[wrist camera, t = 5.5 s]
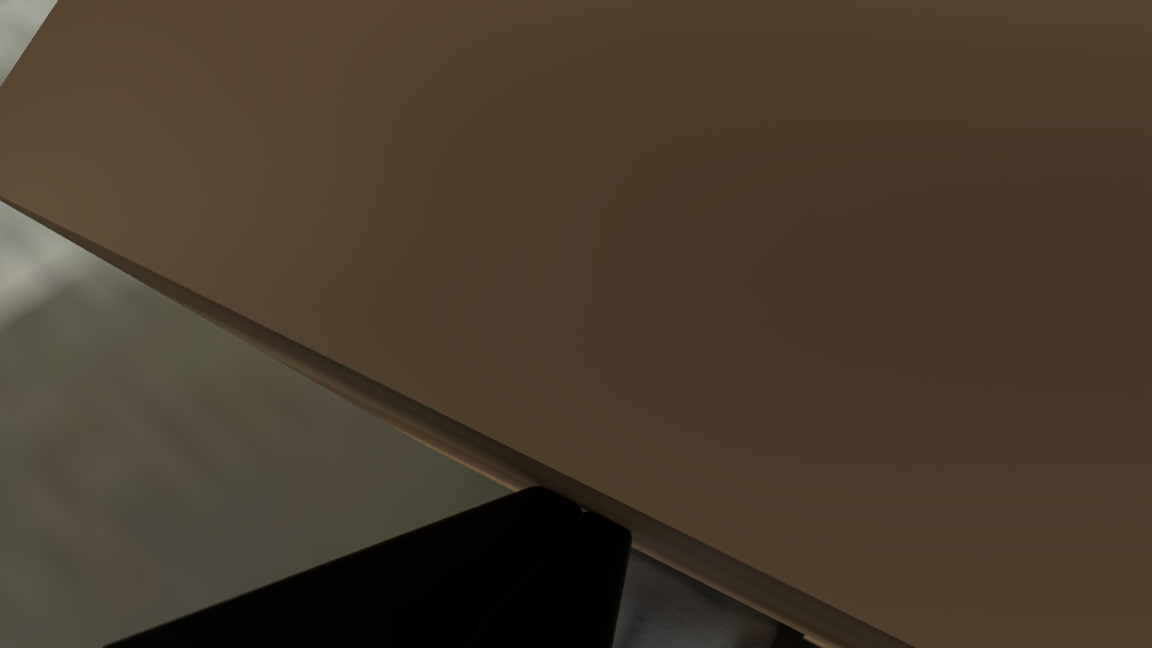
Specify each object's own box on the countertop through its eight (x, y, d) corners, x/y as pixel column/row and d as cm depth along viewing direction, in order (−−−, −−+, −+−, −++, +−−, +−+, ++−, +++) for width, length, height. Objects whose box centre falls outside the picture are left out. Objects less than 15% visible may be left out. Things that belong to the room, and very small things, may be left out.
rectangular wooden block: (948, 713, 13) (1337, 853, 4) (452, 461, 16) (-55, 170, 6) (1062, 434, 14) (1615, -11, 5) (572, 233, 16) (281, -336, 7)
